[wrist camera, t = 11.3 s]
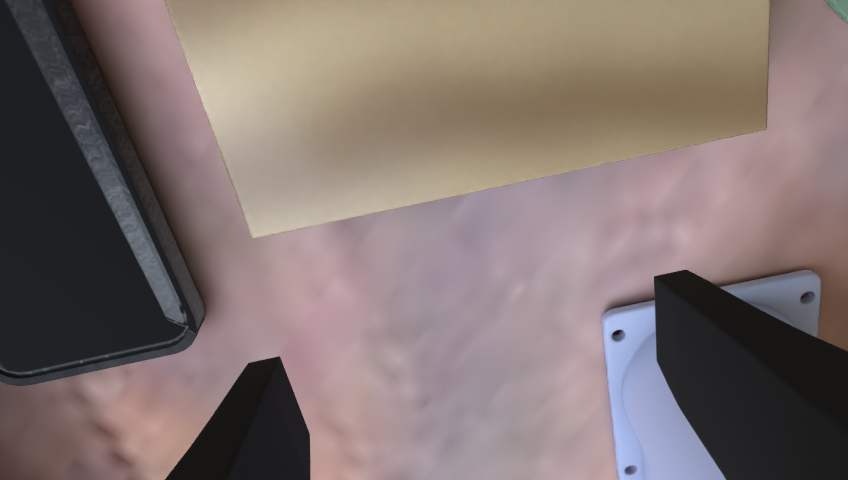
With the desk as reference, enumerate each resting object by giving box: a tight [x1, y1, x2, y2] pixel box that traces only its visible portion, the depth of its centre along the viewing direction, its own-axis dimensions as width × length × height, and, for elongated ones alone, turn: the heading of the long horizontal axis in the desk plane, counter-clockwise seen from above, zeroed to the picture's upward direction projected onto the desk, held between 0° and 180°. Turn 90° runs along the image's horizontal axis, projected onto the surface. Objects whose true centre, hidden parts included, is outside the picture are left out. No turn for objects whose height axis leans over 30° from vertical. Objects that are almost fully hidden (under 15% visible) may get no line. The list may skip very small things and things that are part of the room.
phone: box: [0, 0, 205, 386], centre depth 20 cm, size 8×1×15 cm
